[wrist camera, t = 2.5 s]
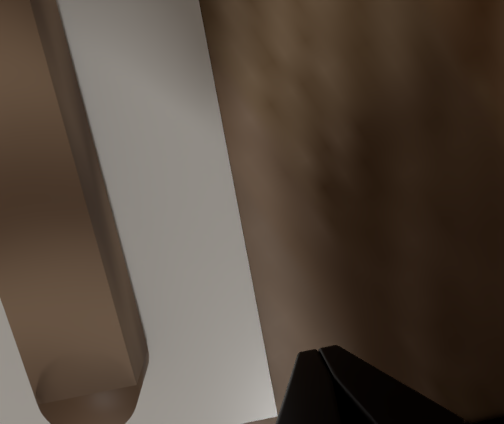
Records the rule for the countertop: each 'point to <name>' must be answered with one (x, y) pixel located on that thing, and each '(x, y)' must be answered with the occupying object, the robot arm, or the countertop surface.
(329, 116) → the countertop surface
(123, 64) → the base board
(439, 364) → the countertop surface
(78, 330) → the link
